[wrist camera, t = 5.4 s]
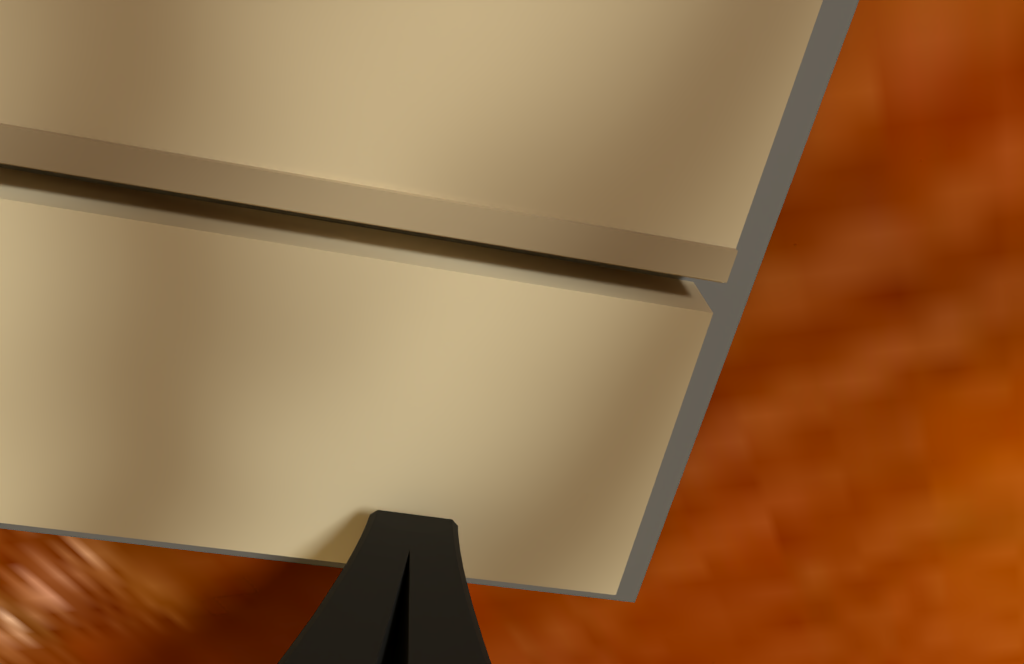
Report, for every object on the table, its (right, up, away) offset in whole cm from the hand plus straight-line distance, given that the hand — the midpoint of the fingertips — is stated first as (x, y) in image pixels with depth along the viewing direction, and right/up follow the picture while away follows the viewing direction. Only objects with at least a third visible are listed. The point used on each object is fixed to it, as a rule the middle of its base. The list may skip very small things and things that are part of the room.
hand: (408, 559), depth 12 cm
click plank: (-5, +3, +1) cm, 6 cm away
